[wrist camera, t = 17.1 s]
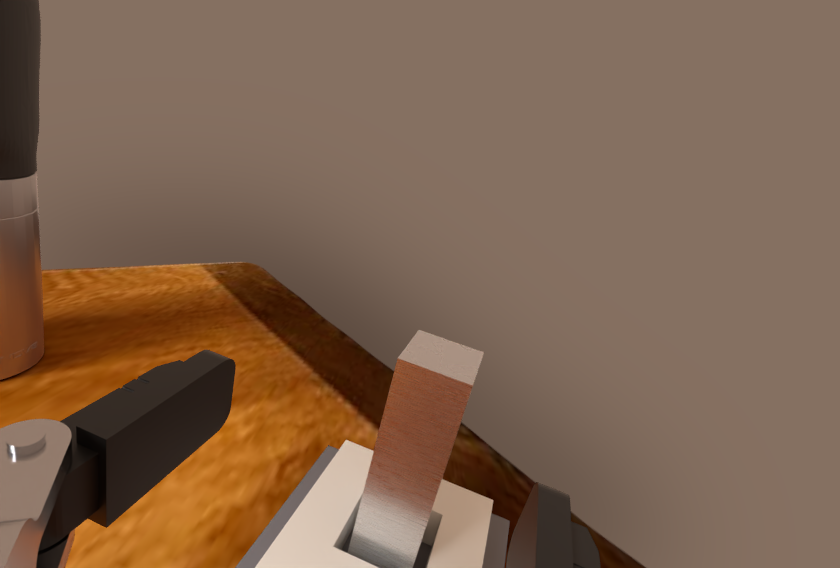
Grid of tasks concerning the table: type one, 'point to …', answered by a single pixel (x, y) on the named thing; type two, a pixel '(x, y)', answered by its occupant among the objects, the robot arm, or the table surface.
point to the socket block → (337, 511)
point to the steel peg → (413, 448)
